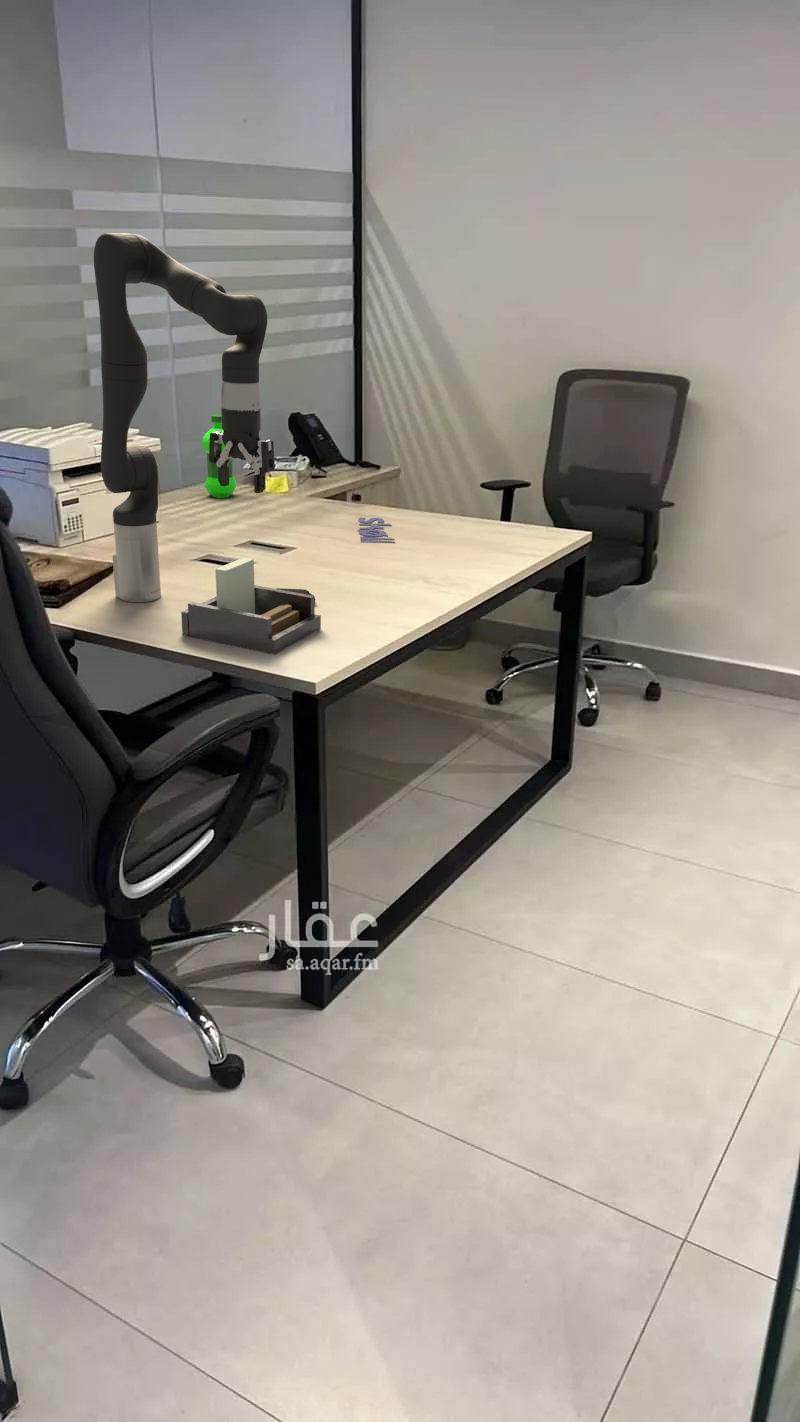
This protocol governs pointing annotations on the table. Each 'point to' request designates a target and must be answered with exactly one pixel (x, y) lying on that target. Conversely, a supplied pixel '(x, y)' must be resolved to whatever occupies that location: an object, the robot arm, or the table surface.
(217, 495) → the plastic bottle
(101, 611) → the table surface
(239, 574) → the pale green flat block
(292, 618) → the offcut stack
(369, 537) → the signage
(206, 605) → the tray
